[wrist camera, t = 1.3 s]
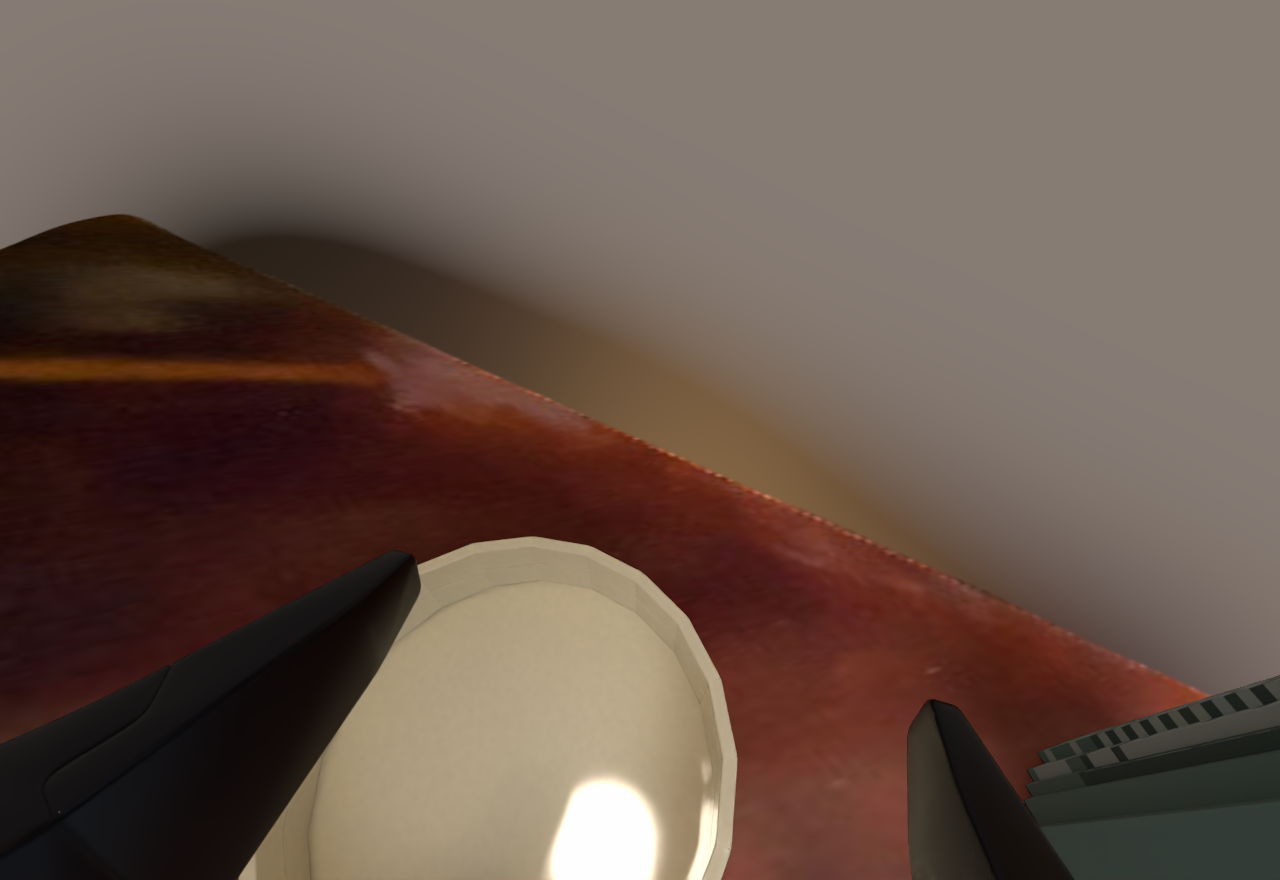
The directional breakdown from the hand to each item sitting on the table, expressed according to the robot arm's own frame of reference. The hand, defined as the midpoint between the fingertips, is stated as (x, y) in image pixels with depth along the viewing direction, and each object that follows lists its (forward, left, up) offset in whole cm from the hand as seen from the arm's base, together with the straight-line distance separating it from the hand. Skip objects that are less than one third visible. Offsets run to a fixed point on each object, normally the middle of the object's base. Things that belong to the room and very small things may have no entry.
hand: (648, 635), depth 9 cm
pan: (+1, +5, -16) cm, 16 cm away
